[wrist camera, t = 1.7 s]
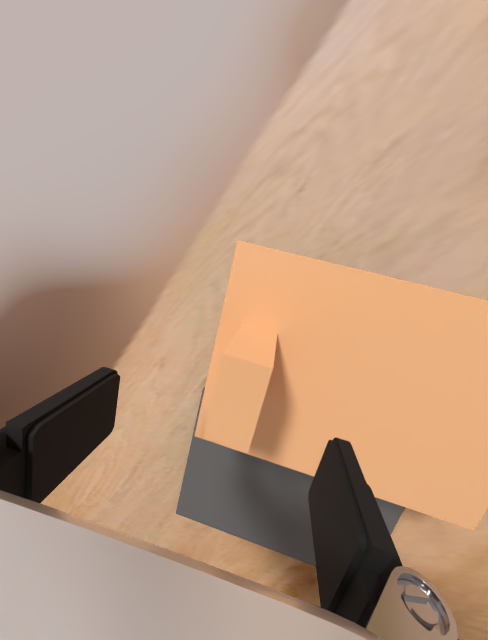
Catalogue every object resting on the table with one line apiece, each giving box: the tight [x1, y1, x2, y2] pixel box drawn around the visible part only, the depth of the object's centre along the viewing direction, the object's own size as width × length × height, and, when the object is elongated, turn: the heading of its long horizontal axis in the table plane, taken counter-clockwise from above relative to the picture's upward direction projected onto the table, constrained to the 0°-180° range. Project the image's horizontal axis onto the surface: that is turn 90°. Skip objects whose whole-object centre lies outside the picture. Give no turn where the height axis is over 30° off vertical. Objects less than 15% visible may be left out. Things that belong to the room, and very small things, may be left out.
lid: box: [194, 240, 488, 530], centre depth 15 cm, size 22×16×8 cm
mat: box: [176, 387, 405, 566], centre depth 30 cm, size 26×20×1 cm
